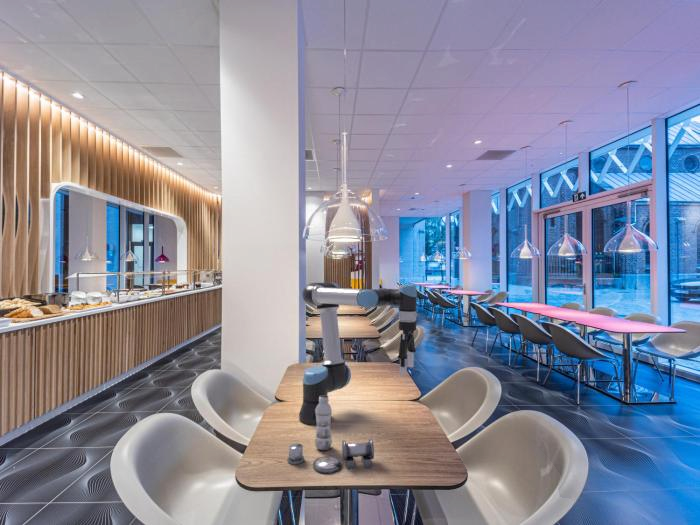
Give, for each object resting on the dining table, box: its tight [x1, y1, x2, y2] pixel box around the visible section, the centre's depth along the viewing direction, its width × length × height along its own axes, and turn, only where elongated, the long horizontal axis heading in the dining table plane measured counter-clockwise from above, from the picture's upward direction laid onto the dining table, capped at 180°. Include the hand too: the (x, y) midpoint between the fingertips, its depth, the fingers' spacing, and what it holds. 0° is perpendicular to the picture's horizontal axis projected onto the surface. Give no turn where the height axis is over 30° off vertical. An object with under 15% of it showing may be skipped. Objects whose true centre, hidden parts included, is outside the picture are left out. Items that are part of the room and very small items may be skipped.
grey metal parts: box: [312, 438, 375, 475], centre depth 129 cm, size 21×10×8 cm, turn 98°
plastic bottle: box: [314, 395, 333, 451], centre depth 142 cm, size 6×7×20 cm
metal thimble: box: [286, 443, 305, 466], centre depth 132 cm, size 6×6×5 cm
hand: (406, 370), depth 155 cm, fingers open, 13 cm apart
